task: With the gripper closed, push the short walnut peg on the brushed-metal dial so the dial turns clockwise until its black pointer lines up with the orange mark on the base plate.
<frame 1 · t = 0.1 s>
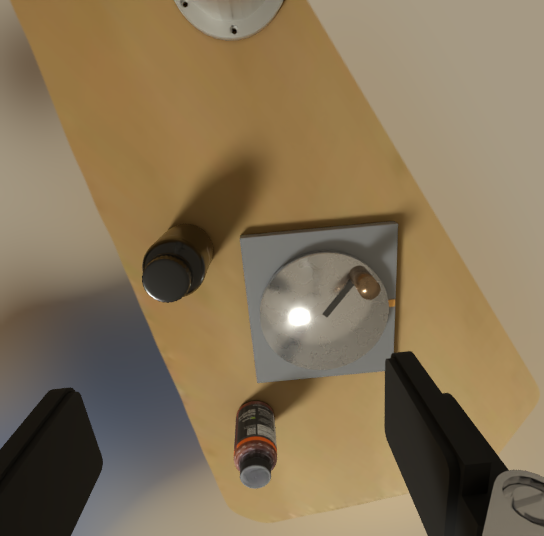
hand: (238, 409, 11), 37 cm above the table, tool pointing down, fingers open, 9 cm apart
supplement bottle 2: (255, 413, 57), on the table
dial: (327, 321, 46), point 5 cm above the table, hinge at 50.0°
base plate: (320, 304, 51), on the table
supplement bottle: (188, 247, 47), on the table
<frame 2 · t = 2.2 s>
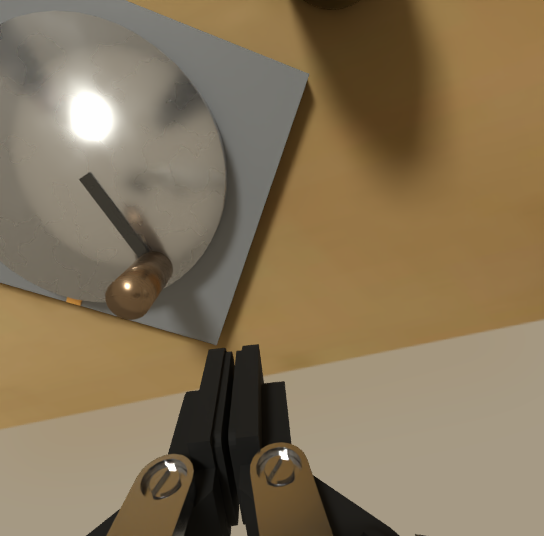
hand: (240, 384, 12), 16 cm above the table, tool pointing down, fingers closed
dial: (70, 178, 20), point 5 cm above the table, hinge at 50.0°
base plate: (107, 171, 25), on the table
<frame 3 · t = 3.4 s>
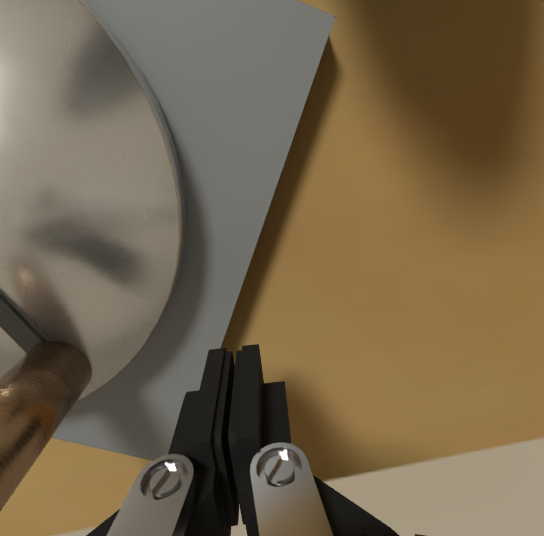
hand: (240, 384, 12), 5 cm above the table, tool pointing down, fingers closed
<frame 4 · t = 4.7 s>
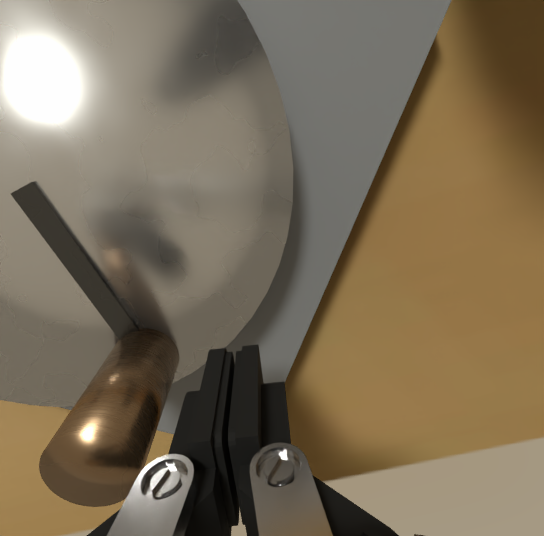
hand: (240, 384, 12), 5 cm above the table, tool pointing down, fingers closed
base plate: (73, 176, 14), on the table
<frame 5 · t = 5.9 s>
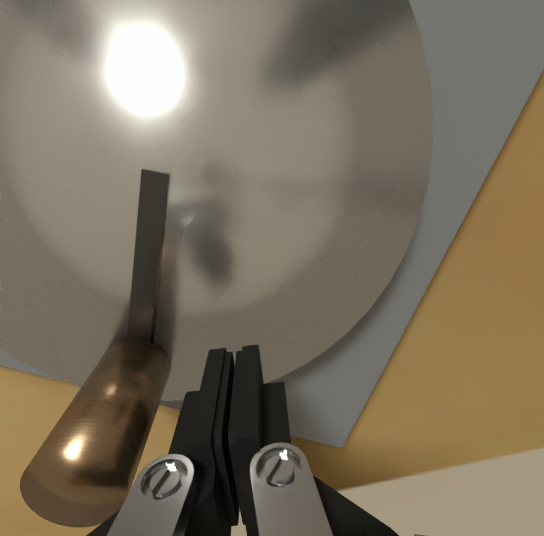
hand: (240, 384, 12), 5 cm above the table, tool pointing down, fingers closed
dial: (139, 176, 9), point 5 cm above the table, hinge at 8.1°, touching gripper
base plate: (177, 163, 14), on the table
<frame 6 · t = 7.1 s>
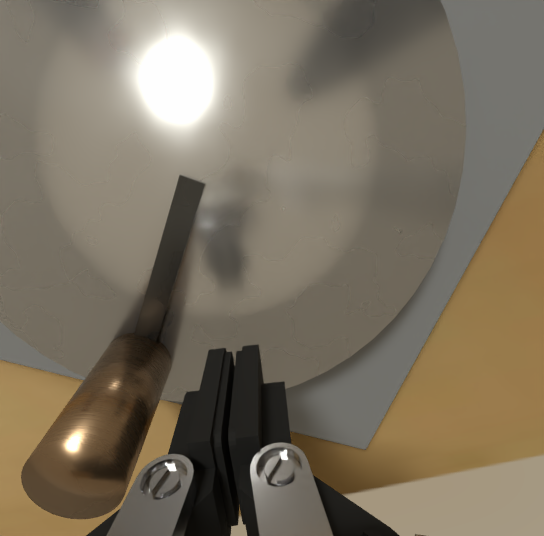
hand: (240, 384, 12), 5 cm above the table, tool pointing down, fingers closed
dial: (182, 186, 10), point 5 cm above the table, hinge at -1.4°
base plate: (206, 170, 14), on the table
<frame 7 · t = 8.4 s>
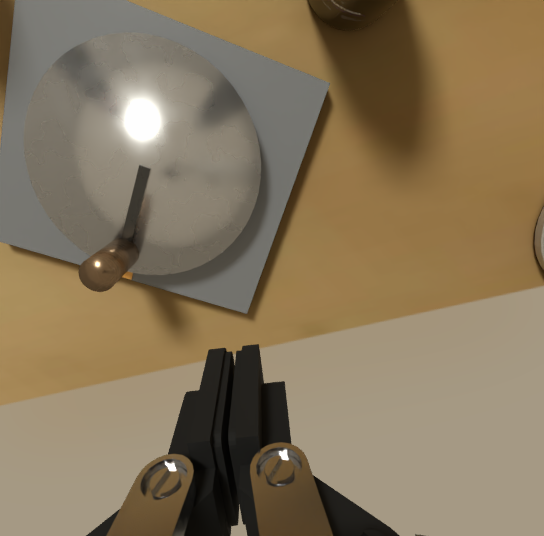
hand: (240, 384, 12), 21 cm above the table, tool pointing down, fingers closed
dial: (137, 168, 25), point 5 cm above the table, hinge at -1.4°
base plate: (156, 163, 30), on the table
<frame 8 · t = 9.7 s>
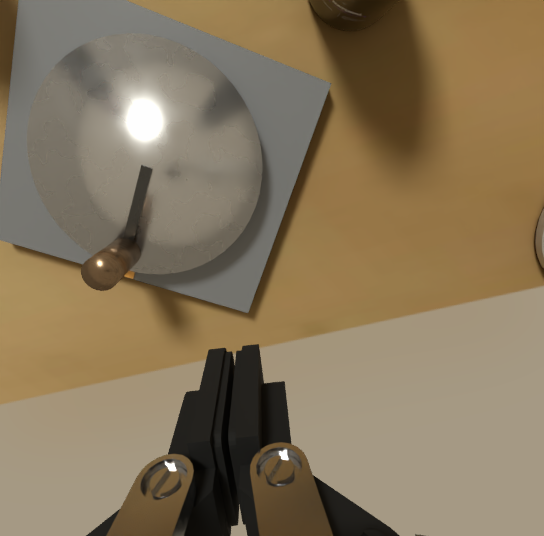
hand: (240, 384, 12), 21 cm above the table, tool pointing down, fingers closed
dial: (140, 168, 25), point 5 cm above the table, hinge at -1.4°
base plate: (158, 163, 30), on the table
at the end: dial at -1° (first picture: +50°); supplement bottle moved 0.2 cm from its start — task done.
